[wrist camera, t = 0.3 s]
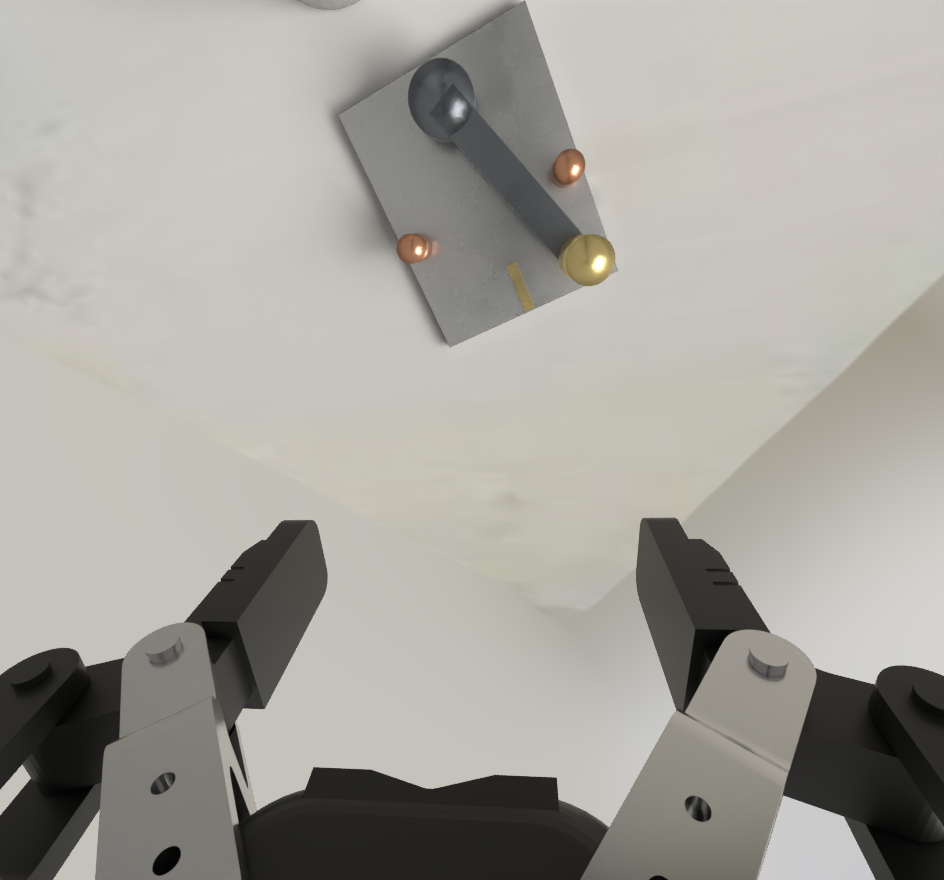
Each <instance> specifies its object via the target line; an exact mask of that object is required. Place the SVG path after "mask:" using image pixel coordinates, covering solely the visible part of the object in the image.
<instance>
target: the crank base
mask: <svg viewBox="0 0 944 880" xmlns="http://www.w3.org/2000/svg"><path fill="white" fill-rule="evenodd" d="M435 58H447V59H450V60H453V61H455V62H456V63H458V64H459V65H460V66H461V67H462V68H463V69H464V70H465V71H466V72H467V74H468V76H469V78H470V80H471V82H472V86H473V89H474V93H475V97H476V111H477V112H478V113H479V114H480V115H481V116H482V118H483V119H484V120H485V121H486V122H487V123H488V125H489V126H490V127H491V128H492V129H493V130H494V132H495V133H496V134H497V135H498V136H499V137H500V139H501V140H502V141H503V142H504V143H505V144H506V146H507V147H508V148H509V149H510V150H511V151H512V152H513V154H514V155H515V156H516V157H517V158H518V159H519V161H520V162H521V163H522V164H523V165H524V166H525V168H526V169H527V170H528V171H529V172H530V173H531V175H532V176H533V177H534V178H535V179H536V180H537V182H538V183H539V184H540V185H541V186H542V187H543V189H544V190H545V191H546V192H547V193H548V194H549V196H550V197H551V198H552V199H553V200H554V201H555V203H556V204H557V205H558V206H559V207H560V208H561V210H562V211H563V212H564V213H565V214H566V215H567V217H568V218H569V219H570V220H571V221H572V222H573V223H574V225H575V226H576V227H577V228H578V229H579V230H580V232H581V233H582V234H596V235H600V236H602V237H604V238H606V239H607V237H606V235H605V232H604V229H603V226H602V223H601V220H600V217H599V214H598V211H597V208H596V205H595V203H594V200H593V197H592V194H591V191H590V188H589V185H588V182H587V179H586V176H585V173H584V170H585V159H584V157H583V155H582V154H581V152H579V151H578V150H576V147H575V144H574V141H573V139H572V136H571V133H570V130H569V127H568V124H567V121H566V118H565V115H564V112H563V109H562V107H561V104H560V101H559V98H558V95H557V92H556V89H555V86H554V83H553V80H552V77H551V75H550V72H549V69H548V66H547V63H546V60H545V57H544V54H543V51H542V48H541V46H540V43H539V40H538V37H537V34H536V31H535V28H534V25H533V22H532V19H531V16H530V14H529V11H528V8H527V5H526V2H525V1H523V2H522V3H520V4H518V5H517V6H515V7H513V8H512V9H510V10H508V11H507V12H505V13H504V14H502V15H500V16H499V17H497V18H495V19H494V20H492V21H491V22H489V23H487V24H486V25H484V26H482V27H481V28H479V29H478V30H476V31H474V32H473V33H471V34H469V35H468V36H466V37H465V38H463V39H461V40H460V41H458V42H456V43H455V44H453V45H452V46H450V47H448V48H447V49H445V50H443V51H442V52H440V53H439V54H437V55H435V56H434V57H432V58H430V59H429V60H431V59H435ZM429 60H427V61H429ZM427 61H426V62H427ZM424 63H425V62H424ZM424 63H422V64H424ZM422 64H421V65H422ZM421 65H419V66H417V67H416V68H414V69H413V70H411V71H409V72H408V73H406V74H404V75H403V76H401V77H400V78H398V79H396V80H395V81H393V82H391V83H390V84H388V85H387V86H385V87H383V88H382V89H380V90H378V91H377V92H375V93H374V94H372V95H370V96H369V97H367V98H365V99H364V100H362V101H360V102H359V103H357V104H356V105H354V106H352V107H351V108H349V109H347V110H346V111H344V112H343V113H341V114H339V115H338V116H339V118H340V120H341V122H342V124H343V126H344V128H345V130H346V132H347V134H348V137H349V139H350V141H351V143H352V145H353V147H354V149H355V151H356V153H357V155H358V157H359V159H360V162H361V164H362V166H363V168H364V170H365V172H366V174H367V176H368V178H369V180H370V182H371V184H372V186H373V189H374V191H375V193H376V195H377V197H378V199H379V201H380V203H381V205H382V207H383V209H384V211H385V214H386V216H387V218H388V220H389V222H390V224H391V226H392V228H393V230H394V232H395V234H396V236H397V238H398V243H397V253H398V255H399V257H400V258H401V260H403V261H404V262H406V263H409V264H410V265H411V268H412V270H413V272H414V274H415V276H416V278H417V280H418V282H419V284H420V286H421V288H422V290H423V293H424V295H425V297H426V299H427V301H428V303H429V305H430V307H431V309H432V311H433V313H434V315H435V317H436V320H437V322H438V324H439V326H440V328H441V330H442V332H443V334H444V336H445V338H446V340H447V342H448V345H449V347H452V346H454V345H457V344H459V343H461V342H463V341H465V340H468V339H470V338H472V337H474V336H476V335H479V334H481V333H483V332H485V331H487V330H489V329H492V328H494V327H496V326H498V325H500V324H503V323H505V322H507V321H509V320H511V319H514V318H516V317H518V316H520V315H522V314H525V313H527V312H529V311H531V310H533V309H535V308H538V307H540V306H542V305H544V304H546V303H549V302H551V301H553V300H555V299H557V298H560V297H562V296H564V295H566V294H568V293H571V292H573V291H575V290H577V289H579V288H581V287H584V286H583V285H580V284H578V283H576V282H575V281H573V280H572V279H571V278H569V277H568V276H567V275H565V274H564V273H563V271H562V270H561V268H560V266H559V261H558V260H557V258H556V257H555V256H554V255H553V254H552V253H551V252H550V251H549V249H548V248H547V247H546V246H545V245H544V244H543V243H542V242H541V240H540V239H539V238H538V237H537V236H536V235H535V234H534V233H533V231H532V230H531V229H530V228H529V227H528V226H527V225H526V224H525V222H524V221H523V220H522V219H521V218H520V217H519V216H518V214H517V213H516V212H515V211H514V210H513V209H512V208H511V207H510V205H509V204H508V203H507V202H506V201H505V200H504V199H503V198H502V196H501V195H500V194H499V193H498V192H497V191H496V190H495V189H494V187H493V186H492V185H491V184H490V183H489V182H488V181H487V180H486V178H485V177H484V176H483V175H482V174H481V173H480V172H479V171H478V169H477V168H476V167H475V166H474V165H473V164H472V163H471V161H470V160H469V159H468V158H467V157H466V156H465V155H464V154H463V152H462V151H461V150H460V149H459V148H458V147H457V146H456V145H455V143H454V142H453V141H452V142H438V141H435V140H433V139H431V138H430V137H428V136H427V135H426V134H425V133H424V132H423V131H422V130H421V129H420V127H419V126H418V125H417V124H416V122H415V121H414V119H413V117H412V115H411V112H410V109H409V104H408V90H409V85H410V82H411V79H412V77H413V75H414V74H415V72H416V71H417V69H418V68H419V67H420V66H421ZM617 271H618V269H617V267H616V264H614V267H613V270H612V272H611V273H610V274H612V273H614V272H617Z"/></svg>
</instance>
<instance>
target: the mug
mask: <svg viewBox="0 0 944 880" xmlns="http://www.w3.org/2000/svg"><path fill="white" fill-rule="evenodd" d="M299 1H301V2H303V3H305V4H307V5H310V6H313V7H316V8H321V9H339V8H344V7H347V6H350V5H352V4H354V3H356V2H358V1H359V0H299Z"/></svg>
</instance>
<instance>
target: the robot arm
mask: <svg viewBox="0 0 944 880" xmlns="http://www.w3.org/2000/svg"><path fill="white" fill-rule="evenodd" d="M636 582H637V591H638V596H639V600H640V603H641V606H642V608H643V612H644V615H645V618H646V621H647V624H648V627H649V629H650V632H651V636H652V638H653V641H654V645H655V648H656V650H657V653H658V656H659V659H660V662H661V665H662V668H663V671H664V674H665V677H666V680H667V683H668V686H669V689H670V692H671V695H672V698H673V701H674V704H675V707H676V712H675V713H674V714H673V715H672V717H671V719H670V721H669V722H668V724H667V726H666V727H665V729H664V731H663V733H662V735H661V736H660V738H659V740H658V742H657V743H656V745H655V747H654V749H653V751H652V752H651V754H650V756H649V758H648V760H647V761H646V763H645V765H644V767H643V769H642V770H641V772H640V774H639V776H638V777H637V779H636V781H635V783H634V785H633V786H632V788H631V790H630V792H629V793H628V795H627V797H626V799H625V801H624V802H623V804H622V806H621V808H620V810H619V811H618V813H617V815H616V817H615V819H614V820H613V822H612V824H611V826H610V827H608V826H607V825H605V824H604V823H602V821H600V820H598V819H597V818H595V817H594V816H592V815H591V814H589V813H587V812H586V811H583V810H581V809H580V808H577V807H575V806H573V805H571V804H568V803H566V802H563V801H560V800H558V789H557V778H552V777H551V778H550V777H528V776H527V777H526V776H505V775H504V776H503V775H493V776H489V777H485V778H480V779H475V780H471V781H467V782H462V783H458V784H453V785H449V786H445V787H440V788H435V789H426V788H422V787H419V786H417V785H413V784H411V783H407V782H405V781H402V780H399V779H396V778H393V777H391V776H388V775H385V774H382V773H379V772H376V771H373V770H363V769H340V768H317V767H316V768H315V767H314V768H313V770H312V773H311V776H310V778H309V781H308V784H307V787H306V789H305V790H302V791H298V792H295V793H292V794H290V795H287V796H284V797H282V798H280V799H278V800H276V801H274V802H272V803H270V804H268V805H266V806H265V807H263V808H261V809H260V810H258V811H257V810H256V806H255V802H254V797H253V793H252V788H251V783H250V779H249V774H248V769H247V765H246V760H245V755H244V751H243V746H242V741H241V737H240V732H239V728H238V725H237V723H236V720H237V718H238V716H239V714H240V712H241V711H242V709H243V708H249V709H265V707H266V705H267V703H268V702H269V699H270V698H271V695H272V694H273V692H274V690H275V688H276V686H277V684H278V682H279V680H280V678H281V677H282V675H283V673H284V671H285V669H286V667H287V665H288V663H289V661H290V659H291V658H292V656H293V654H294V652H295V650H296V648H297V646H298V644H299V642H300V640H301V638H302V637H303V635H304V632H305V631H306V629H307V627H308V625H309V623H310V621H311V619H312V617H313V615H314V614H315V612H316V610H317V608H318V606H319V604H320V602H321V600H322V598H323V596H324V594H325V591H326V587H327V568H326V563H325V559H324V554H323V549H322V545H321V540H320V535H319V530H318V527H317V524H316V523H315V522H314V521H313V520H284V521H282V522H281V523H280V524H279V525H278V526H277V527H276V529H275V530H274V531H273V532H272V534H271V535H270V536H269V537H268V538H267V540H261V541H259V542H258V543H257V544H255V545H254V546H252V547H251V548H249V549H248V550H246V551H245V552H243V553H242V554H241V556H240V557H239V558H238V559H237V560H236V562H235V563H234V564H233V565H232V566H231V570H228V571H227V572H226V573H225V575H224V576H223V577H222V578H221V582H218V583H217V584H216V585H215V586H214V588H213V589H212V590H211V591H210V592H209V594H208V595H207V596H206V597H205V598H204V600H203V601H202V602H201V603H200V604H199V605H198V607H197V608H196V609H195V610H194V611H193V612H192V614H191V615H190V616H189V617H188V618H187V620H186V621H185V622H184V623H176V624H172V625H168V626H166V627H163V628H161V629H158V630H156V631H154V632H152V633H150V634H149V635H147V636H146V637H144V638H143V639H141V640H140V641H139V642H137V643H136V644H135V645H134V646H133V647H132V648H131V649H130V651H129V652H128V653H127V654H126V656H125V658H122V659H118V660H113V661H109V662H105V663H100V664H96V665H91V666H87V667H85V666H84V664H83V662H82V660H81V658H80V656H79V654H78V652H77V651H75V650H73V649H70V648H58V649H52V650H48V651H45V652H41V653H39V654H36V655H34V656H31V657H29V658H27V659H25V660H23V661H21V662H19V663H18V664H16V665H14V666H13V667H11V668H9V669H8V670H7V671H5V672H4V673H3V674H1V675H0V789H1V788H2V787H3V786H4V785H5V783H6V782H7V781H8V780H9V779H10V778H11V777H12V775H13V774H14V773H15V772H16V771H17V770H18V768H19V767H20V766H21V765H22V764H23V766H24V767H25V769H26V771H27V772H28V774H29V775H30V777H31V779H30V780H29V782H28V783H27V784H26V785H25V786H24V788H23V789H22V790H21V791H20V792H19V794H18V795H17V796H16V797H15V798H14V800H13V801H12V802H11V803H10V805H9V806H8V807H7V808H6V809H5V811H4V812H3V813H2V814H1V815H0V880H53V879H54V877H55V876H56V874H57V873H58V871H59V869H60V868H61V867H62V865H63V864H64V861H66V859H67V858H68V856H69V855H70V853H71V851H72V850H73V849H74V847H75V846H76V844H77V842H78V841H79V839H80V838H81V836H82V835H83V833H84V832H85V830H86V829H87V827H88V826H89V824H90V823H91V821H92V820H93V818H94V817H95V815H96V814H97V812H98V811H99V809H100V815H99V830H98V845H97V859H96V875H95V880H758V878H759V874H760V871H761V868H762V864H763V861H764V858H765V854H766V851H767V848H768V844H769V841H770V838H771V834H772V831H773V828H774V824H775V821H776V817H777V814H778V811H779V807H780V804H781V801H782V797H783V795H784V796H787V797H790V798H793V799H796V800H798V801H801V802H804V803H807V804H810V805H813V806H816V807H818V808H822V809H824V810H827V811H830V812H833V813H836V814H839V815H841V816H844V817H845V819H846V821H847V823H848V825H849V827H850V829H851V831H852V833H853V835H854V837H855V839H856V841H857V843H858V845H859V847H860V849H861V851H862V853H863V855H864V857H865V859H866V861H867V863H868V865H869V867H870V869H871V871H872V873H873V875H874V877H875V879H876V880H944V676H942V675H940V674H937V673H934V672H932V671H929V670H925V669H922V668H917V667H912V666H891V667H888V668H886V669H884V670H882V671H881V672H880V673H879V675H878V677H877V680H876V683H875V685H874V684H870V683H866V682H862V681H858V680H854V679H850V678H846V677H842V676H838V675H834V674H831V673H827V672H824V671H821V670H819V669H816V668H814V665H813V664H812V662H811V661H810V659H809V658H808V657H807V656H806V654H805V653H804V652H802V651H801V650H800V649H799V648H798V647H796V646H795V645H794V644H792V643H791V642H789V641H787V640H785V639H783V638H781V637H779V636H777V635H774V634H771V633H770V631H769V630H768V628H767V627H766V625H765V624H764V622H763V620H762V619H761V617H760V616H759V614H758V613H757V611H756V609H755V608H754V606H753V605H752V603H751V601H750V600H749V598H748V597H747V595H746V594H745V592H744V591H743V589H742V587H741V586H739V585H738V581H737V579H736V578H735V576H734V575H733V573H732V572H730V568H729V567H728V565H727V564H726V562H725V561H724V559H723V557H722V556H721V554H720V553H719V552H718V551H716V550H715V549H714V548H713V547H711V546H710V545H709V544H707V543H706V542H705V541H703V540H702V539H688V538H687V536H686V534H685V532H684V530H683V528H682V527H681V525H680V523H679V521H678V520H677V519H676V518H643V519H642V520H641V524H640V533H639V545H638V557H637V568H636Z"/></svg>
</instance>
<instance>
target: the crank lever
mask: <svg viewBox="0 0 944 880" xmlns="http://www.w3.org/2000/svg"><path fill="white" fill-rule="evenodd" d="M408 104H409V109H410V112H411V115H412V117H413V119H414V121H415V122H416V124H417V125H418V126H419V127H420V129H421V130H422V131H423V132H424V133H425V134H426V135H427V136H428V137H430V138H431V139H433V140H435V141H438V142H452V141H453V142H454V143H455V145H456V146H457V147H458V148H459V149H460V150H461V151H462V152H463V154H464V155H465V156H466V157H467V158H468V159H469V160H470V161H471V163H472V164H473V165H474V166H475V167H476V168H477V169H478V171H479V172H480V173H481V174H482V175H483V176H484V177H485V178H486V180H487V181H488V182H489V183H490V184H491V185H492V186H493V187H494V189H495V190H496V191H497V192H498V193H499V194H500V195H501V196H502V198H503V199H504V200H505V201H506V202H507V203H508V204H509V205H510V207H511V208H512V209H513V210H514V211H515V212H516V213H517V214H518V216H519V217H520V218H521V219H522V220H523V221H524V222H525V224H526V225H527V226H528V227H529V228H530V229H531V230H532V231H533V233H534V234H535V235H536V236H537V237H538V238H539V239H540V240H541V242H542V243H543V244H544V245H545V246H546V247H547V248H548V249H549V251H550V252H551V253H552V254H553V255H554V256H555V257H556V258H557V260H558V261H559V266H560V268H561V270H562V271H563V273H564V274H565V275H567V276H568V277H569V278H571V279H572V280H573V281H575V282H576V283H578V284H580V285H583V286H593V285H597V284H599V283H601V282H603V281H604V280H605V279H606V278H607V277H608V276H609V275H610V273H611V272H612V270H613V267H614V264H615V252H614V249H613V247H612V245H611V243H610V242H609V241H608V240H607V239H606V238H604V237H602V236H600V235H596V234H582V233H581V232H580V230H579V229H578V228H577V227H576V226H575V225H574V223H573V222H572V221H571V220H570V219H569V218H568V217H567V215H566V214H565V213H564V212H563V211H562V210H561V208H560V207H559V206H558V205H557V204H556V203H555V201H554V200H553V199H552V198H551V197H550V196H549V194H548V193H547V192H546V191H545V190H544V189H543V187H542V186H541V185H540V184H539V183H538V182H537V180H536V179H535V178H534V177H533V176H532V175H531V173H530V172H529V171H528V170H527V169H526V168H525V166H524V165H523V164H522V163H521V162H520V161H519V159H518V158H517V157H516V156H515V155H514V154H513V152H512V151H511V150H510V149H509V148H508V147H507V146H506V144H505V143H504V142H503V141H502V140H501V139H500V137H499V136H498V135H497V134H496V133H495V132H494V130H493V129H492V128H491V127H490V126H489V125H488V123H487V122H486V121H485V120H484V119H483V118H482V116H481V115H480V114H479V113H478V112H477V111H476V97H475V93H474V89H473V86H472V82H471V80H470V78H469V76H468V74H467V72H466V71H465V70H464V69H463V68H462V67H461V66H460V65H459V64H458V63H456V62H455V61H453V60H450V59H447V58H435V59H431V60H429V61H427V62H425V63H424V64H422V65H421V66H420V67H419V68H418V69H417V71H416V72H415V74H414V75H413V77H412V79H411V82H410V85H409V90H408Z"/></svg>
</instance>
